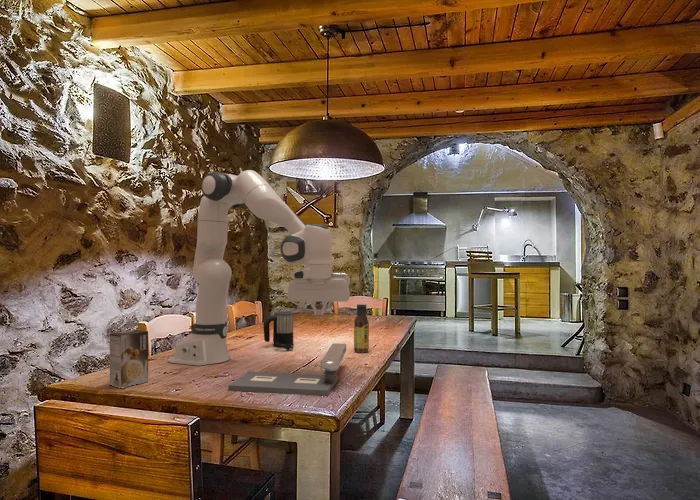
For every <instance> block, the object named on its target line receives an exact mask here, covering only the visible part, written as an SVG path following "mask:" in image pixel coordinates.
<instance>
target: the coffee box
mask: <svg viewBox="0 0 700 500" xmlns="http://www.w3.org/2000/svg"><path fill="white" fill-rule="evenodd" d="M147 382H149V331H148V330H139V329H132V330H125V331H120V332H113V333H109V386H110V385H112V386H115V387H114V388H116V387H120V388H122V387H126V388H128V387H127V386H130V387H132V386H131V385H134V386H137V385H136V384H138V385H140V384H145V383H147ZM112 386H111V387H112Z"/></svg>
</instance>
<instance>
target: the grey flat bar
mask: <svg viewBox="0 0 700 500" xmlns="http://www.w3.org/2000/svg"><path fill="white" fill-rule="evenodd" d="M346 352H347V343H336V342H335V343H332V344H331V345H330V347H329V349H328V350H327V351H326V353H325V355H324V356H323V358H322V359H320V371H323V372H325V371H335V372H337V371H339V369H340V366H341V364H342V363H341V362H342V361H343V358H344V357H345V354H346Z"/></svg>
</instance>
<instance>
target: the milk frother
mask: <svg viewBox="0 0 700 500" xmlns="http://www.w3.org/2000/svg"><path fill="white" fill-rule="evenodd" d="M273 314H274V315H272V316H267V317H266V318H265V319H264V321H263V339H264V341H265V342H267V343H268V342H270V341H271V338H270V337H271V335H270V334H271V333H270V332H271V331H270V324H271V322H273V327H272V328H273V329H272V330H273V331H272V332H273V334H272V341H273V344H272V346H273V347H275V348H283V349H285V350H286V351H290V349H292V350H293V349H294V318H295V317H294V314H295V312H292V311H277V312H273Z"/></svg>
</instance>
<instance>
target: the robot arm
mask: <svg viewBox="0 0 700 500" xmlns="http://www.w3.org/2000/svg"><path fill="white" fill-rule="evenodd" d="M200 187H201V188H200V189H201V192H202V195H203V196H202V197H201V198H200V202H199V207H198V213H197V216H198V217H197V229H196V230H197V231H196V232H197V234H196V235H197V236H196V248H195V254H194V259H193V266H192V267H193V268H192V276H193V279H194V280H195V282H196V283H198V284H199V285H198V293H197V296H196V297H197V298H196V301H195V322H194V323H193V324H191V325H189V326H188V327H189V328H188V329H189V330H191V331H190V333H189V334H188V335H187V336H186V337H184V338H183V339H182V340H180V341H179V342H178V343H177V344H176V346H175V349H174V355H173V356H170V357H168V359H167V363H169V364H171V363H172V364H180V365H189V366H190V365H191V366H196V367H197V366H199V367H200V366H205V365H206V366H207V365H212V364H213V365H214V364H218V363H224V362H227V361H229V360H230V359H231V358H230V353H229V350H228V342H227V337H228V323H227V298H228V293H229V287H230V281H231V279H232V273H233V271H232V268H231V266H230V264H229V263H227V261H226V260H224V256H225V250H226V246H227V244H228V229H229V228H228V227H229V225H228V222H229V217H228V216H229V215H228V214H229V210H230V208H231V207H233V208H234V209H237V208H239V207H241V206H242V207H243V206H246V207H247V208H248V210H249V211H250V212H251V213H252V214H253V215H254V216H255V217H257V218H258V219H262V220H263V221H264V220H265V221H268V222H271V223H274V224H278V225H280V226H282V228H285V229H286V230H287V231H288V232H289V233H290V235H286V236H285V237H284V238H283V239H282V240H281V244H280V253H281V256H282V259H284V260H285V261H286V262H288V263H292V264H294V263H295V264H304V268H301V269H299V270H296V271H293V272H291V274H290V278H291V280H290V281H289V283H288V289H287V300H288V301H289V302H292V303H293V302H295V303H296V302H299V303H300V302H302V303H303V302H304V303H305V302H307V303H309V302H310V306H311V308H312V309H313V315H314V316H324V313H325V312H324V310H325V308H326V307H327V306H328V303H329V302H331V303H332V302H338V303H339V302H340V303H341V302H343V303H344V302H348V301H350V287H349V286H350V285H351V277H350V275H349V274H346V273H345V272H333V262H332V258H331V257H332V256H331V255H332V252H333V249H332V247H333V245H332V232H331V230H330V228H329V227H328V226H327V225H324V224H319V223H318V224H317V223H308V224H306V223H305V222H304V221H303V219H301V217H300V216H299V215H298V214H296V212H295V211H294V210H293V209H292V208H291V207H289V205H288V204H286V203H285V202H284V200H283V199H281V198H280V196H279V195H278V194H277V192H276V191H275V190H274V189H273V188H272V187H271V185H270V184H269V183H268V181H267V180H266V179H265V178H264V177H263V176H261V175H260V174H259V173H258V172H256V171H255V170H252V169H247V170H243V171H241V172H240V173H239V174H238V175H235V174H231V173H229V174H228V173H224V172H220V171H211V172H208V173H206V174H205V175H204V176H203V178H202V180H201V185H200ZM317 302H319V303H321V305H322V307H321V309H317V307H316V304H317Z"/></svg>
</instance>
